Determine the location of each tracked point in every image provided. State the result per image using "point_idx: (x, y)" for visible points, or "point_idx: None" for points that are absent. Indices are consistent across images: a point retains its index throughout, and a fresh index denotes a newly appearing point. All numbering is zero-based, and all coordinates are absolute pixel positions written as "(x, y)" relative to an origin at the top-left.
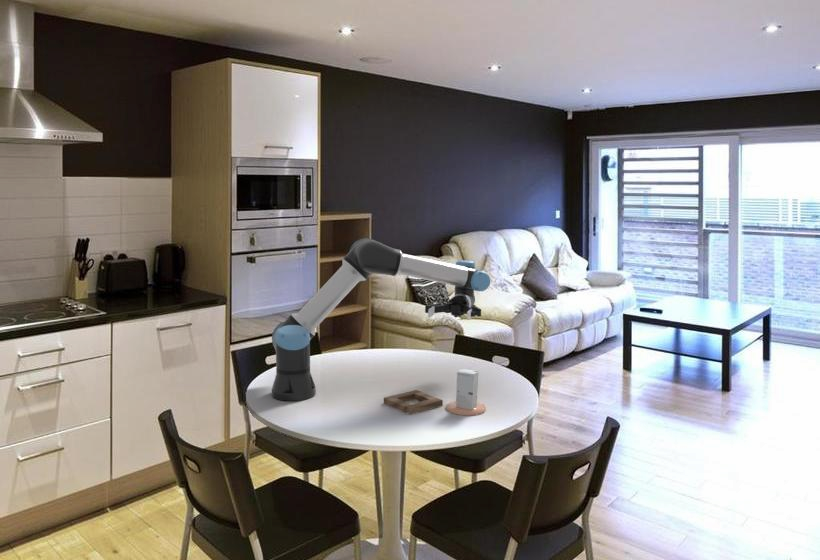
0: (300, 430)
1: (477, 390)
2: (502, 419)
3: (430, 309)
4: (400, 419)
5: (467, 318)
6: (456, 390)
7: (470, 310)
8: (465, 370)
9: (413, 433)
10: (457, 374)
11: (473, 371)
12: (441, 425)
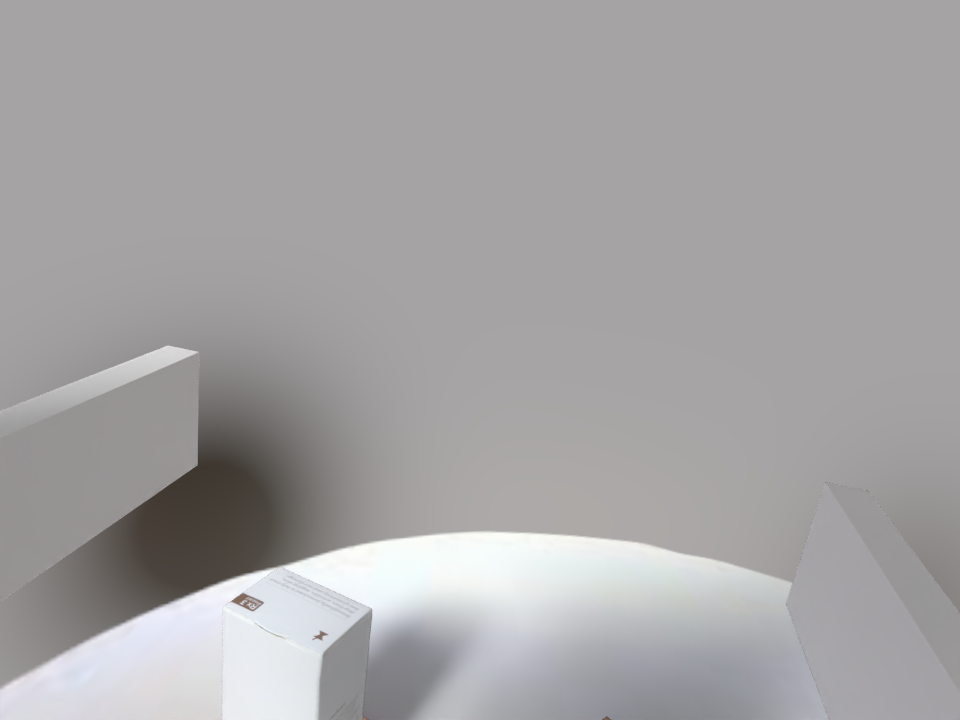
0: None
1: (223, 710)
2: (158, 656)
3: (841, 495)
4: (626, 693)
5: (189, 444)
6: (362, 712)
7: (42, 400)
8: (312, 615)
9: (547, 585)
10: (369, 622)
11: (261, 600)
12: (449, 627)
